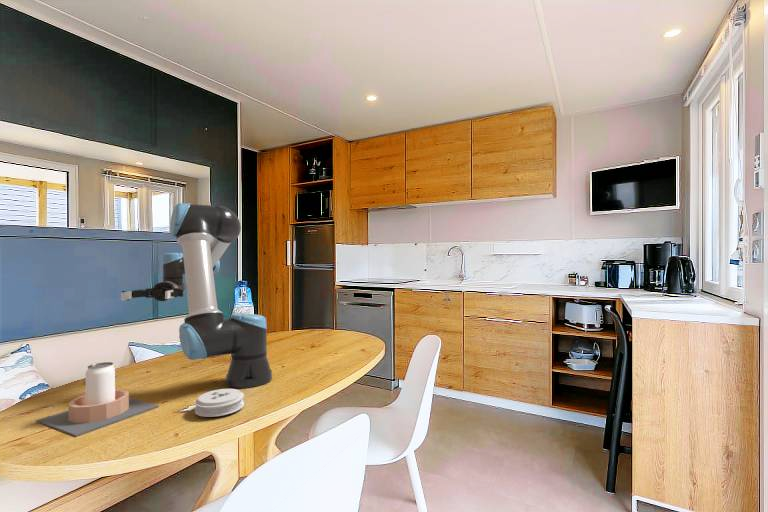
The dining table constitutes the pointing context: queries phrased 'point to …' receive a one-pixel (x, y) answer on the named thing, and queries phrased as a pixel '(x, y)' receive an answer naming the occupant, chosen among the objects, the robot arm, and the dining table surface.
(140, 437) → the dining table surface
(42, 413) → the dining table surface
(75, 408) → the bowl
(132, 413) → the mat
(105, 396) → the can
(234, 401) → the lid
